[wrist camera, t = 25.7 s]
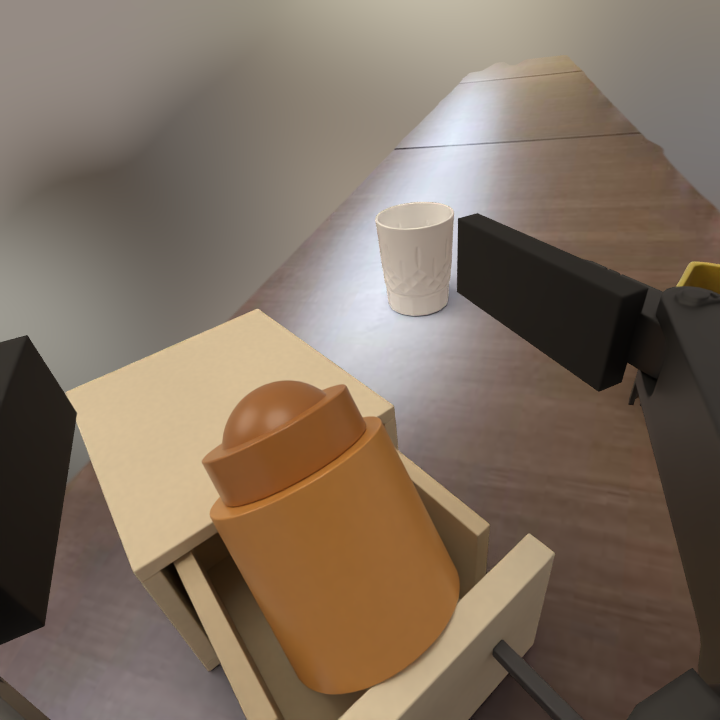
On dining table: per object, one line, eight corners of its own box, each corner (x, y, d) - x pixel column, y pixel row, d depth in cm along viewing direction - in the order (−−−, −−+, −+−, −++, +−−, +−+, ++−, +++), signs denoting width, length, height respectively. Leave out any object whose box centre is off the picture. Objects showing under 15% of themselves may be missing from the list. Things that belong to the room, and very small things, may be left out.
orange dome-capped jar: (338, 739, 13) (172, 436, 12) (272, 639, 20) (160, 435, 19) (498, 578, 16) (375, 330, 16) (397, 537, 23) (306, 359, 22)
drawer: (702, 803, 17) (794, 735, 12) (481, 1232, 11) (501, 1391, 7) (352, 471, 32) (336, 384, 27) (182, 588, 26) (126, 504, 22)
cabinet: (405, 516, 29) (394, 405, 24) (209, 673, 23) (133, 573, 18) (284, 403, 40) (257, 308, 34) (128, 490, 34) (64, 391, 28)
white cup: (428, 326, 47) (424, 233, 41) (369, 308, 52) (359, 222, 46) (466, 294, 52) (468, 206, 46) (409, 280, 56) (405, 198, 51)
